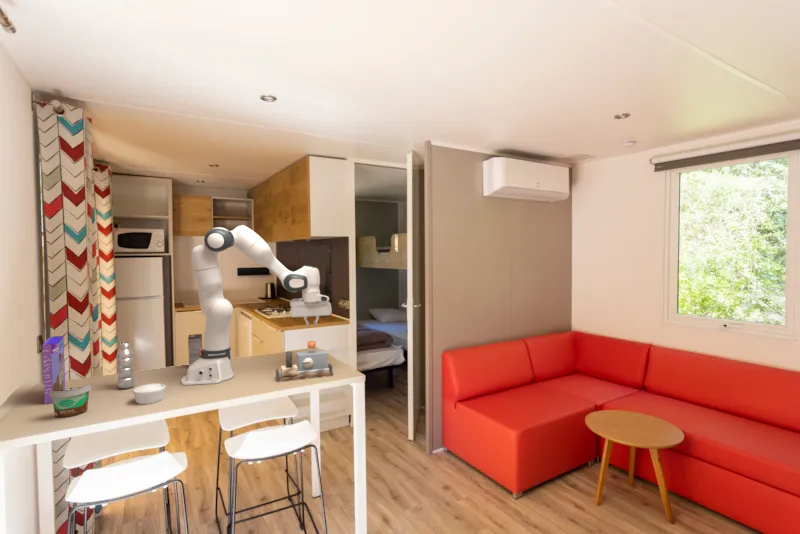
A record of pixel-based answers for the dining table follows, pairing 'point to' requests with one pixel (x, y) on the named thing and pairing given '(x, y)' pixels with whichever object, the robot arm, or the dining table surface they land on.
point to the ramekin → (149, 393)
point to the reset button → (311, 344)
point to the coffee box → (194, 347)
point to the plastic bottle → (125, 366)
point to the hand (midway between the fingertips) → (311, 324)
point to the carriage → (289, 366)
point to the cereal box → (53, 366)
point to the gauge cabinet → (311, 360)
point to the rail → (305, 374)
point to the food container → (70, 401)
